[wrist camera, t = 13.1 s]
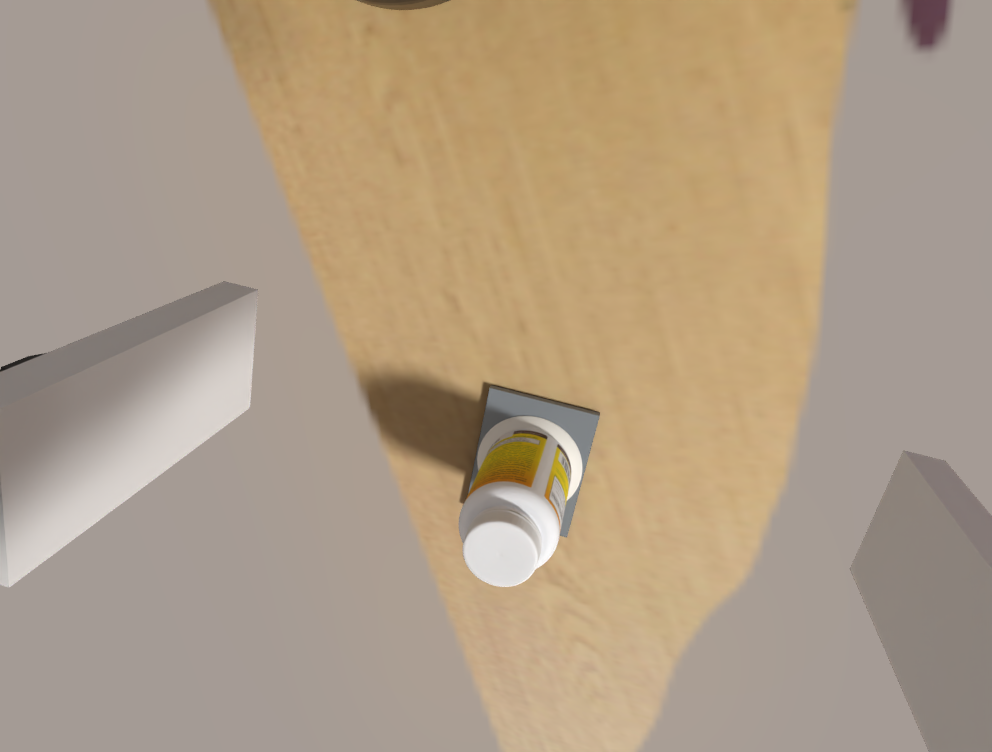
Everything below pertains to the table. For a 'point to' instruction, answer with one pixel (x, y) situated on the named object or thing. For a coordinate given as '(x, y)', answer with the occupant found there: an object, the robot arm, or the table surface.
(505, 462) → the supplement bottle
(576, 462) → the seat plate
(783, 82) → the table surface
